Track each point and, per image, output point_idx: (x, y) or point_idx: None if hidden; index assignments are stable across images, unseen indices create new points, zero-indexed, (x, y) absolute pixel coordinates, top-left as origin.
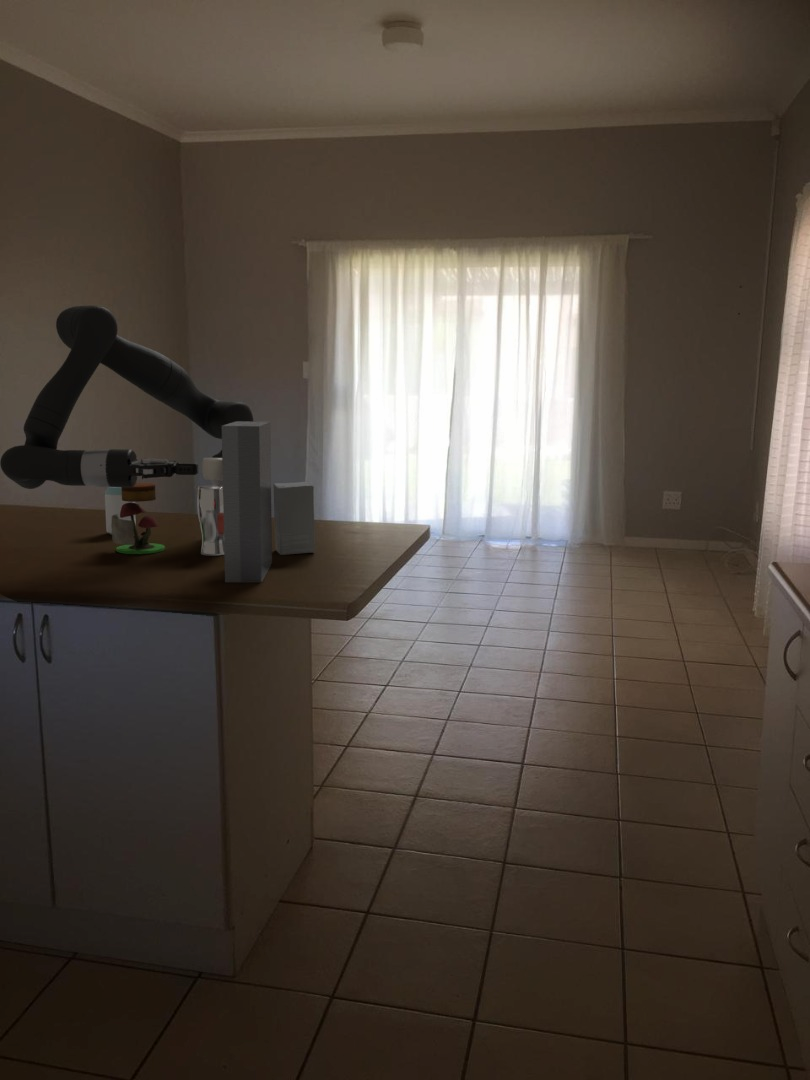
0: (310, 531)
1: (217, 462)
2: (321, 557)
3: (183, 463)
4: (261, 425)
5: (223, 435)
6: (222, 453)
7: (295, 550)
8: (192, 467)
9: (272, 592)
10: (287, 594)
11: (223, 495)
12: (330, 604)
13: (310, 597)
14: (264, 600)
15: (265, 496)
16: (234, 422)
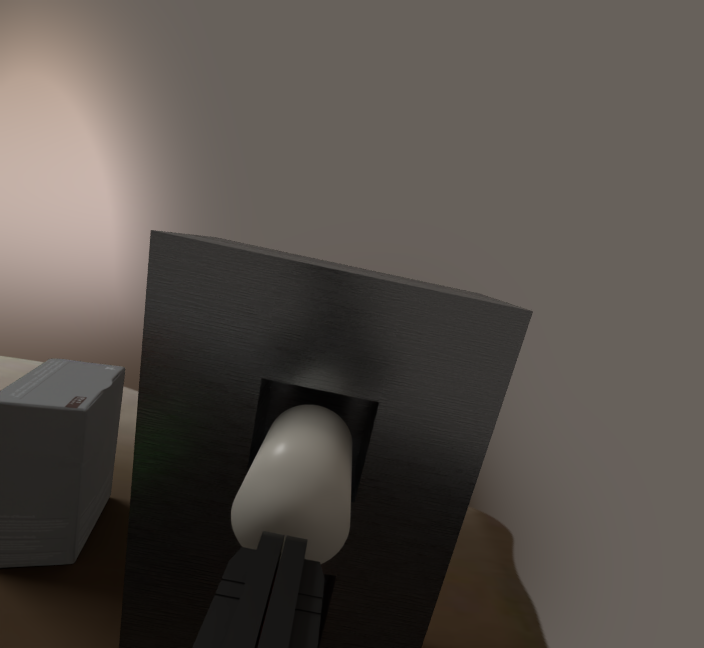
0: (112, 461)
1: (344, 449)
2: None
3: (271, 621)
4: (431, 283)
5: (517, 345)
6: (499, 410)
7: (93, 523)
8: (321, 574)
9: (457, 611)
10: (463, 584)
11: (456, 539)
12: (496, 532)
13: (469, 551)
14: (522, 630)
15: None
16: (254, 251)
